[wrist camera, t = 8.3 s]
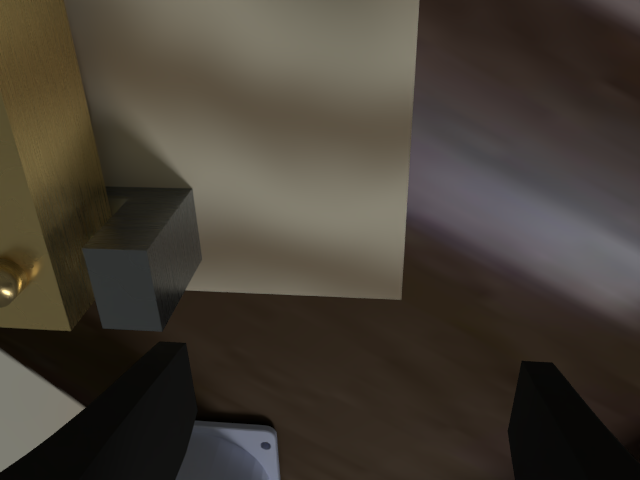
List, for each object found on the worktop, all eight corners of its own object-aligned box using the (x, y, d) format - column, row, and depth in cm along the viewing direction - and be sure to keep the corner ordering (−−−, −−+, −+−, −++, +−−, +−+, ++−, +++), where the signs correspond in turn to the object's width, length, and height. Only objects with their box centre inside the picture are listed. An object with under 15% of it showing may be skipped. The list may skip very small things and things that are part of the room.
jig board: (400, 287, 23) (401, 299, 22) (3, 271, 24) (-9, 281, 24) (430, -218, 15) (432, -225, 14) (-156, -190, 17) (-180, -195, 16)
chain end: (205, 285, 23) (167, 360, 19) (6, 276, 24) (-70, 346, 20) (192, 188, 21) (146, 250, 17) (-26, 183, 21) (-118, 240, 18)
